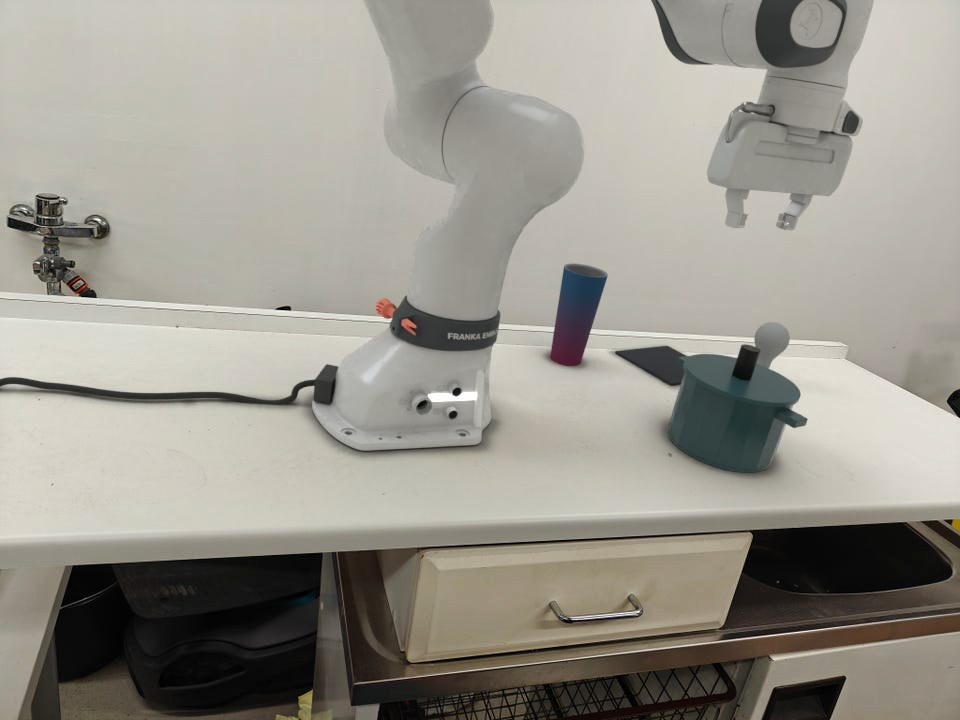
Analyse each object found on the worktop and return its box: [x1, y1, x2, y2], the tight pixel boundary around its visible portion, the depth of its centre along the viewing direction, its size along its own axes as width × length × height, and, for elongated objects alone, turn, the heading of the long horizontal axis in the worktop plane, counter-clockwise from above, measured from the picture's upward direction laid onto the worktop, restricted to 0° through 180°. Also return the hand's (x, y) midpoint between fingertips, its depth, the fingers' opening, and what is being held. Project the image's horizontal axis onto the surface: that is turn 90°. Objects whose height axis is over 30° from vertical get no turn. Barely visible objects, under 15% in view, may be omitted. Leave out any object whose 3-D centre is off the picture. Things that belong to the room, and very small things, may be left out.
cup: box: [549, 263, 609, 367], centre depth 113 cm, size 7×7×15 cm
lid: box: [683, 343, 802, 407], centre depth 92 cm, size 15×15×5 cm
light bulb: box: [753, 321, 791, 369], centre depth 121 cm, size 6×6×10 cm
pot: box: [667, 355, 809, 474], centre depth 94 cm, size 14×19×10 cm
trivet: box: [614, 345, 687, 387], centre depth 121 cm, size 13×13×1 cm
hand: (759, 228), depth 88 cm, fingers open, 8 cm apart
